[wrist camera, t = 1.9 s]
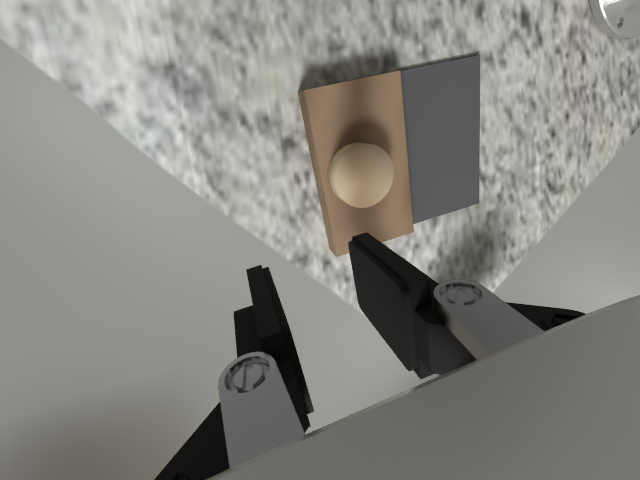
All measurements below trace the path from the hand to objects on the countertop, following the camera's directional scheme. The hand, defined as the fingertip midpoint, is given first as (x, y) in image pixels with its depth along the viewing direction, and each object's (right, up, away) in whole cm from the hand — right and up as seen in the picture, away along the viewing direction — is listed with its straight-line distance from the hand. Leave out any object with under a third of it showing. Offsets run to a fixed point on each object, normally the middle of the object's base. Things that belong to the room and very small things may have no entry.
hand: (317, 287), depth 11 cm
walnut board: (+3, +8, +17) cm, 19 cm away
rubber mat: (+11, +11, +19) cm, 25 cm away
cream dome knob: (+3, +7, +15) cm, 17 cm away
